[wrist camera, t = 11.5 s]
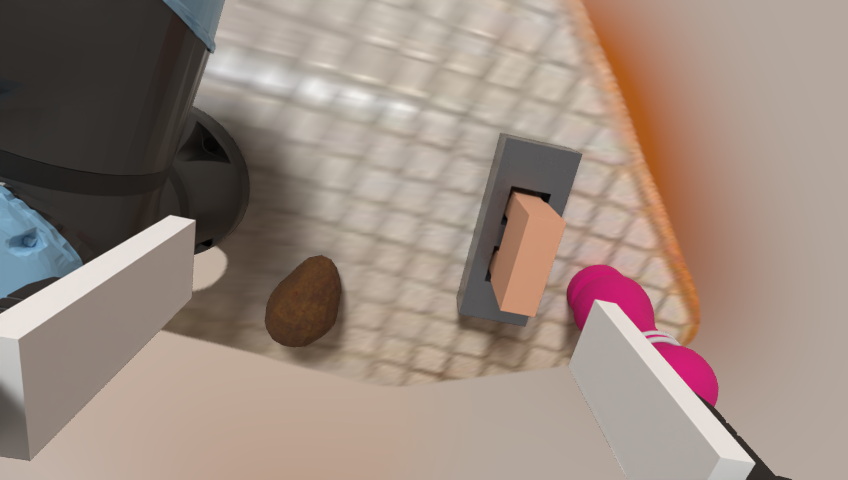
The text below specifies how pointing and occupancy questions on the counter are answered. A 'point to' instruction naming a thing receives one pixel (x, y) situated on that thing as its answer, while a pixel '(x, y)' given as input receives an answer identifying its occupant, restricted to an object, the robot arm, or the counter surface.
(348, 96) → the counter surface
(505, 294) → the peach wedge-cut bar
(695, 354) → the pepper mill
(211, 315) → the counter surface
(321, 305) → the potato
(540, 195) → the rail
